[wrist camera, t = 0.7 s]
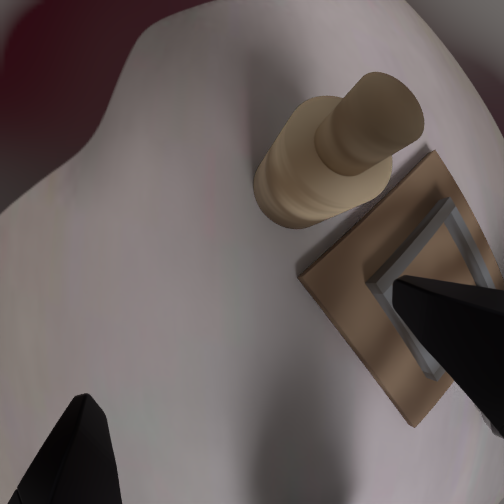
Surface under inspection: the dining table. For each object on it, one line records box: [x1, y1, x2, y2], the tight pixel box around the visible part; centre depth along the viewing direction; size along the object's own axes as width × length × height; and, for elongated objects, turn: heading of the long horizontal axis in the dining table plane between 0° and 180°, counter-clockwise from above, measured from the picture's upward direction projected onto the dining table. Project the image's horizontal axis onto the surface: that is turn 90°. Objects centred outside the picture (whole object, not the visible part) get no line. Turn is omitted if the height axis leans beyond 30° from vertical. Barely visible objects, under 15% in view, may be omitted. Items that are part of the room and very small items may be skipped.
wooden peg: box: [253, 72, 424, 229], centre depth 16 cm, size 6×6×12 cm
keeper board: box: [297, 150, 504, 428], centre depth 23 cm, size 18×18×2 cm
